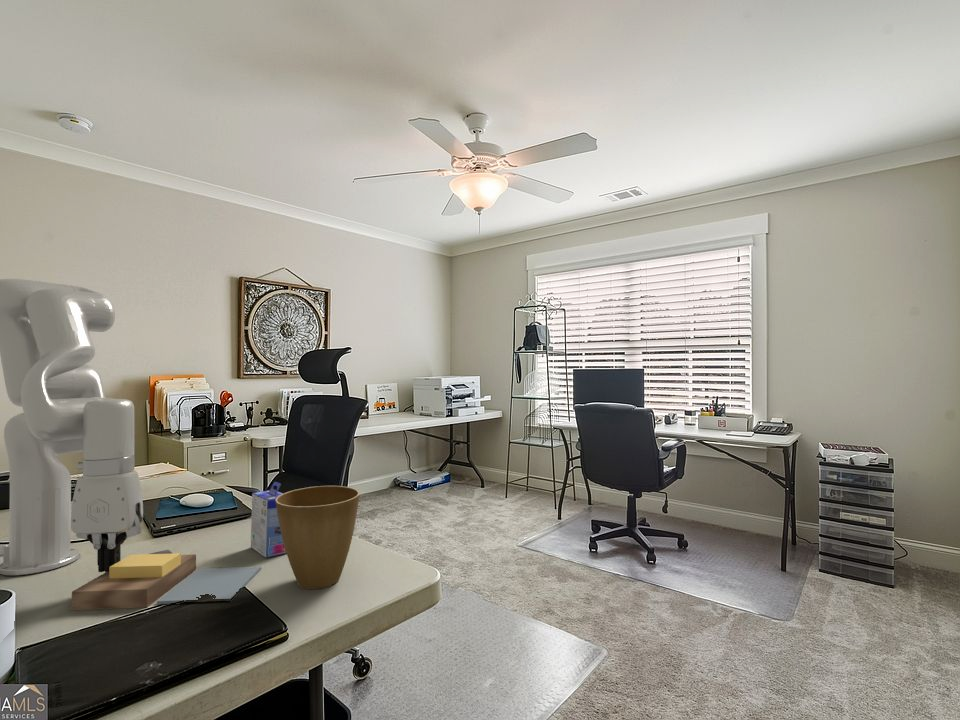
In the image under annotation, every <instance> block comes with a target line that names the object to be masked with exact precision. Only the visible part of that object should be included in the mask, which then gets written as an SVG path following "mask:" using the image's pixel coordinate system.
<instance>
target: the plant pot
mask: <svg viewBox="0 0 960 720" xmlns="http://www.w3.org/2000/svg"><path fill="white" fill-rule="evenodd" d="M360 494H361V493H360V491H359V490H358V489H357V488H354V487H349V486H343V485H342V486H341V485H320V486H318V485H317V486H309V487H304V488H303V487H302V488H298V489H293V490H289V491H287V492H284V493H283V494H281V495H279V496H278V497H277V498H276V500H275V501H276V508H277V514H278V520H279V525H280V530H281V535H282V539H283V543H284V546H285V550H286V556H287V559H288V562H289V565H290V568H291V571H292V572H293V575H294V577H295V579H296V582H297V584H298V586H299V587H301V588H304V589H306V590H317V589H324V588H327V587H330V586H332V585H335V584H337V582H339V580H340V579H341V576H342V574H343V570H344V567H345V565H346V562H347V561H346V560H347V557H348V554H349V552H350V548H351V543H352V540H353V535H354V531H355V526H356V522H357V515H358V507H359V501H360Z"/></svg>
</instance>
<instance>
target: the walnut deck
mask: <svg viewBox="0 0 960 720" xmlns="http://www.w3.org/2000/svg"><path fill="white" fill-rule="evenodd" d="M195 571H197V554H195V553H193V554H191V553H190V554H181V564H180V565H179V566H177V567H176V568H174V569H173V570H172V571H170V572H169V573H167V574H166V575H164V576H163V577H146V578H112V579H109V572H105V571H104V573H102V574H100V575H99V576H97V577H95V578H93V579H91V580H89V581H88V582H86V583H84V584H83V585H81V586H80V587H77V588H76V589H74V590H73V591H71V611H85V610H90V611H91V610H107V609H108V610H111V609H112V610H114V609H134V608H135V609H136V608H139V609H140V608H149V606H151V605H152V604H154V603H155V602H157V601H158V600H159V599H161V598H162V597H163V596H164V595H166V594H167V593H168V592H170V591H171V590H172V589H173V588H175V587H176V586H177V585H179V584H180V583H181V582H182V581H184V580H185V579H186V578H188V577H189V576H190V575H191V574H193V573H194V572H195Z"/></svg>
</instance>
